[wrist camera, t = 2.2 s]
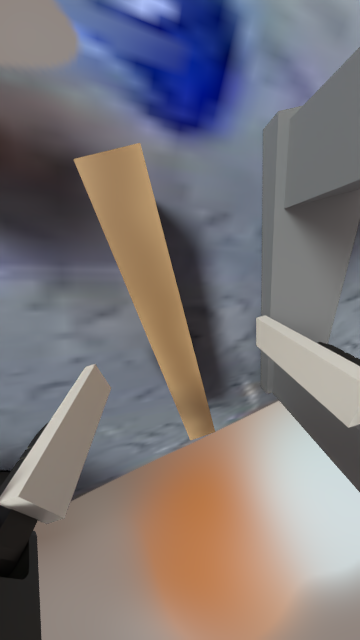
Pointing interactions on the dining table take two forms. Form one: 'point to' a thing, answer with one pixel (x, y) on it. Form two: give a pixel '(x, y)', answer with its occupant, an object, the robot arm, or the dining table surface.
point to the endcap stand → (312, 240)
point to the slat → (147, 272)
